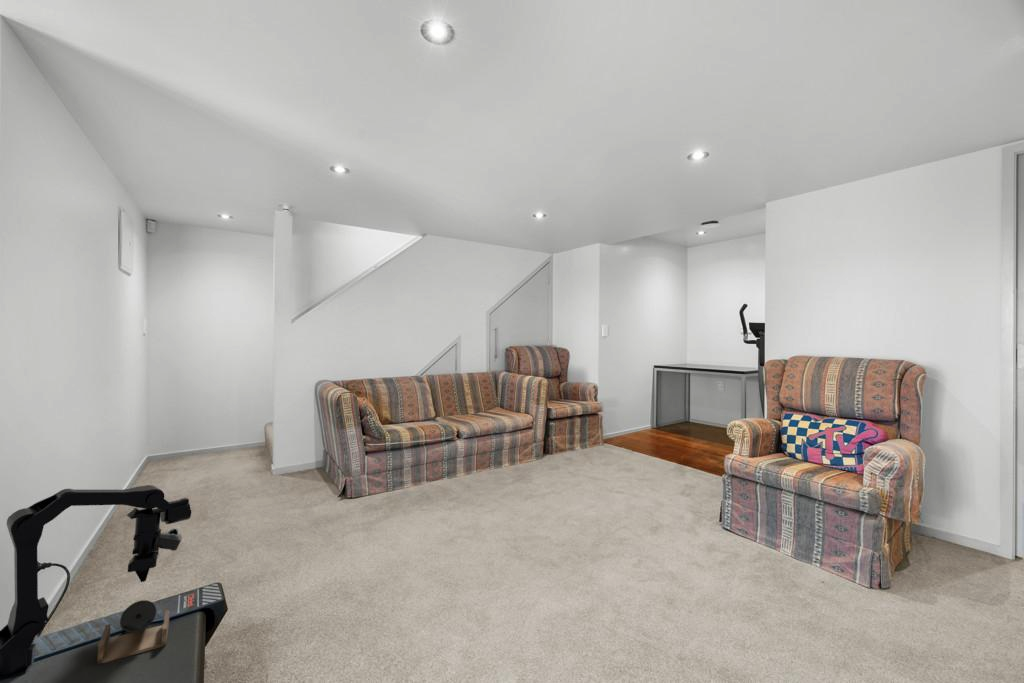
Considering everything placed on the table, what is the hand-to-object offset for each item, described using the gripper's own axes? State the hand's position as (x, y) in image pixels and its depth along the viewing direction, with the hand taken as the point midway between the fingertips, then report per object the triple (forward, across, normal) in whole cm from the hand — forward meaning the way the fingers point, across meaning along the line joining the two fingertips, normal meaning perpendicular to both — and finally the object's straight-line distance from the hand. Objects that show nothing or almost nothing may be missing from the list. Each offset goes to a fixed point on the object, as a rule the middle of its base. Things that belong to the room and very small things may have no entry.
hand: (143, 581), depth 130 cm
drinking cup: (+10, 0, 0) cm, 10 cm away
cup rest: (+12, -12, 0) cm, 17 cm away
